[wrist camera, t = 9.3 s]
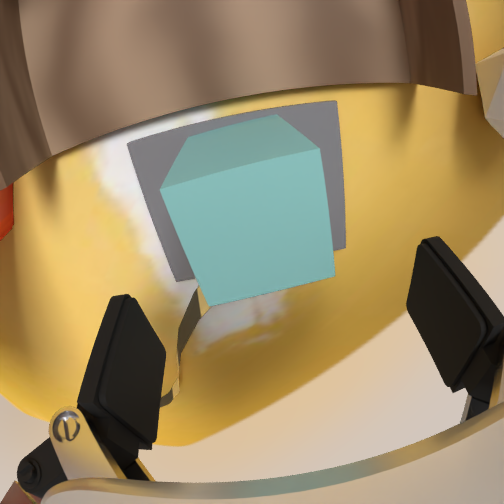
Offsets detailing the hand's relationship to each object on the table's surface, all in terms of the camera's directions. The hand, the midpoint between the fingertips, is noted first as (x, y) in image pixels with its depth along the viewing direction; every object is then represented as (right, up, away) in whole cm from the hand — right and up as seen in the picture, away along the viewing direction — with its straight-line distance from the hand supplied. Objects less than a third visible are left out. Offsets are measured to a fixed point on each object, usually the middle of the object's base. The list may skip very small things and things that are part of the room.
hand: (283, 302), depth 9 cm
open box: (-4, +16, +2) cm, 16 cm away
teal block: (-1, +6, +7) cm, 10 cm away
